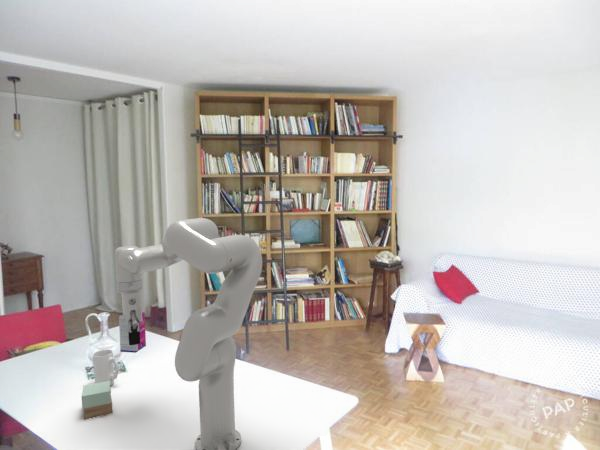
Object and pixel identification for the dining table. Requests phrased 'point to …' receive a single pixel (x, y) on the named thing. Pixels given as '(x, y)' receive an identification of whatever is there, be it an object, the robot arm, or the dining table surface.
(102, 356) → the mug
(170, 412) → the dining table surface
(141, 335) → the supplement box
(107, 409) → the walnut base block
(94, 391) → the sage top block
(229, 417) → the robot arm
